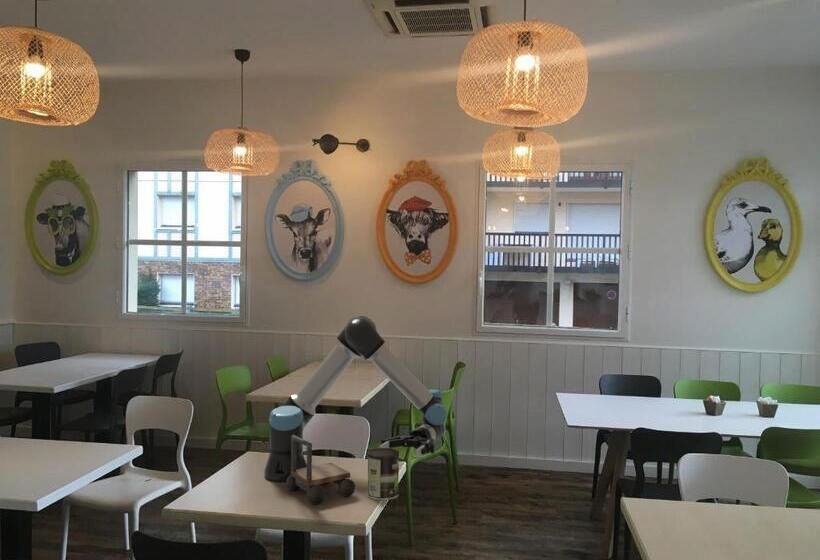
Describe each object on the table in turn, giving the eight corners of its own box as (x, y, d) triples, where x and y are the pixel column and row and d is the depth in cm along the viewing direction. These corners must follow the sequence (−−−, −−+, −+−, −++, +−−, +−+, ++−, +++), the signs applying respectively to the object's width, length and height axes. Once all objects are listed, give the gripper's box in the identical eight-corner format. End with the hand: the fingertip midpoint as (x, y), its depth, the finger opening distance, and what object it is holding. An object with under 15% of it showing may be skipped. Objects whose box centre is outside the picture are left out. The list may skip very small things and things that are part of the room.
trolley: (309, 506, 197) (309, 445, 197) (286, 491, 210) (286, 434, 210) (355, 495, 207) (355, 437, 207) (330, 481, 220) (330, 427, 220)
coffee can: (401, 491, 212) (402, 448, 211) (394, 501, 201) (395, 457, 201) (371, 488, 214) (372, 446, 213) (363, 499, 203) (363, 455, 203)
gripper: (453, 450, 231) (431, 467, 211) (391, 443, 241) (365, 458, 221) (453, 430, 231) (431, 444, 211) (391, 424, 241) (365, 437, 221)
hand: (397, 452), depth 216 cm, fingers open, 13 cm apart
